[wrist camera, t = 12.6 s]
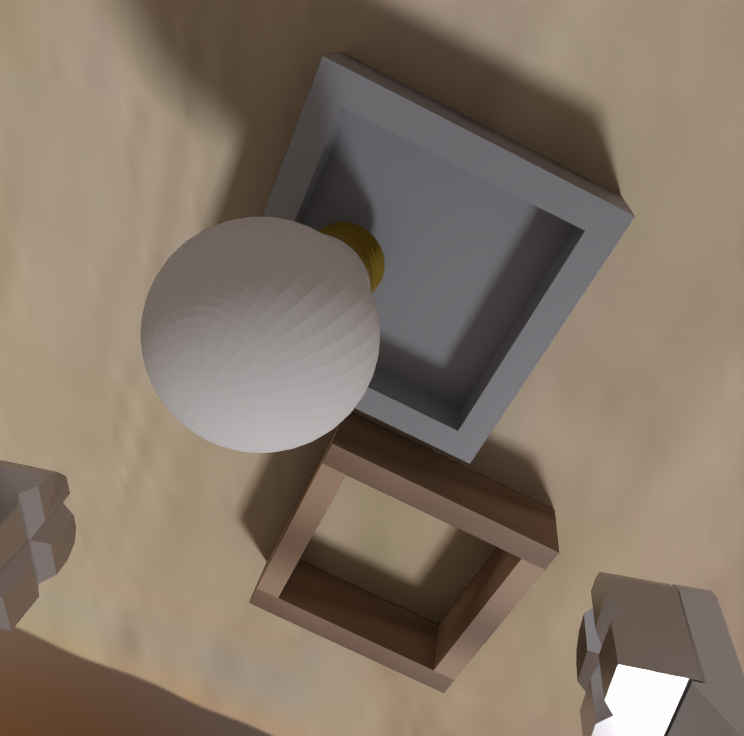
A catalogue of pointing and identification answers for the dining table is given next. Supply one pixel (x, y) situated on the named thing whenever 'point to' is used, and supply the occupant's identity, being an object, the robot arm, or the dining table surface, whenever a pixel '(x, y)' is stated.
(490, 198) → the tray
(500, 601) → the frame
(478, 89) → the dining table surface
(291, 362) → the light bulb
